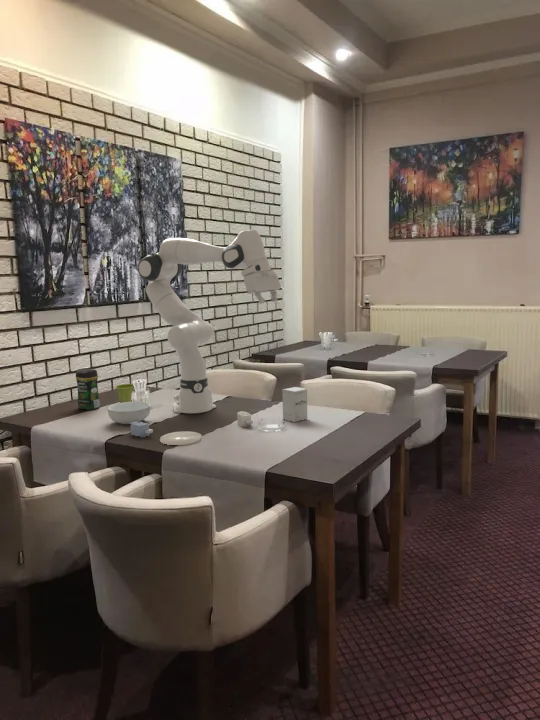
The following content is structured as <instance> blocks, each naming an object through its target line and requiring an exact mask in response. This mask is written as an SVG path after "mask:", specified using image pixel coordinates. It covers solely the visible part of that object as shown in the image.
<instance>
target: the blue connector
mask: <svg viewBox="0 0 540 720" xmlns="http://www.w3.org/2000/svg"><path fill="white" fill-rule="evenodd" d="M130 424H131V425H130V435H131V436H133V435H135V436H134V437H137V436H140V437H139V438H146V437H145V436H148V437H150V434H152V433H154V429H153V428H152V429H151V428H150V426H149V423H146V422H142V421H140V422H132V423H130Z"/></svg>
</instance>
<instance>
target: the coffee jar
mask: <svg viewBox="0 0 540 720" xmlns="http://www.w3.org/2000/svg"><path fill="white" fill-rule="evenodd" d="M98 375H99V374H98V370H96V369H95V368H88V367H87V368H85V367H83V368H78V369H77V370H76V371H75V380H76V385H77V408H78V409H80V410H84V409H86V410H87V411H90V410H91V411H92V410H97V409H98V408H100V407H101V402H100V401H101V400H100V395H99V387H98V379H99V376H98ZM96 408H97V409H96Z"/></svg>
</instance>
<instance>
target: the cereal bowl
mask: <svg viewBox="0 0 540 720" xmlns="http://www.w3.org/2000/svg"><path fill="white" fill-rule="evenodd" d="M150 412H151V404H150V403H149V402H146V401H136V400H135V401H134V400H133V402H123V403H120V402H119V403H114V404H112V405H109V406H108V407H107V413H108V417H109V418H110V420H112V421H113V422H115V423H118V424H120V423H121V424H120V425H122V424H130V423H132V422H142V421H144V420H146V418H147V417H149V415H150Z"/></svg>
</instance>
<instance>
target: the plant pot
mask: <svg viewBox="0 0 540 720" xmlns="http://www.w3.org/2000/svg"><path fill="white" fill-rule="evenodd" d="M114 388H115V389H116V392H117V397H118V400H119V403H123V402H132V400H131V393H132V391H133V383H124V384H118V385H115V386H114Z"/></svg>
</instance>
